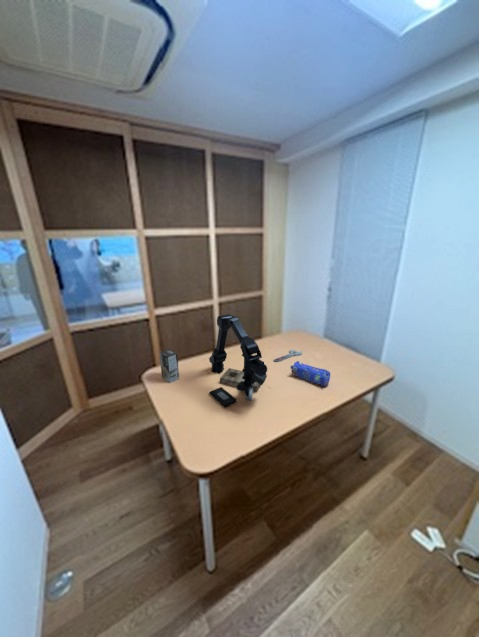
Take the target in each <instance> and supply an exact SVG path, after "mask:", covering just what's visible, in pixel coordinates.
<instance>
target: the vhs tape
mask: <svg viewBox="0 0 479 637" xmlns="http://www.w3.org/2000/svg"><path fill="white" fill-rule="evenodd" d="M209 395H210V397H212V398H213V399H214V400H215V401H216V402H218V403H219V404H220V405H221V406H222V407H223V408H224V409H226V408H228V407H230V406H231V405H234V404H235V405H236V404H237V403H238V399H237V398H235V396H233V395H232V393H231V394H230V393H229V391H227V390H226V389H224V388H223V387H222V386H219V387H217V388H215V389H212V390H210V391H209Z"/></svg>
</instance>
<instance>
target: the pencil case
mask: <svg viewBox="0 0 479 637" xmlns="http://www.w3.org/2000/svg"><path fill="white" fill-rule="evenodd" d="M289 369H291V374H292V376H295V377H297V378H299V379H302V380H305V381H308V382H311V383H314V384H317V385H321V386H323V387H327V386H328V385H329V382H330V379H331V372H330V371H329V370H327V369H326V368H325V369H324V368H320V367H315V366H312V365H309V364H305V363H302V362H301V361H300V360H298V361H295V362H294V363H293V365H292V364H291V366H289Z"/></svg>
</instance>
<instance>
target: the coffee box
mask: <svg viewBox="0 0 479 637" xmlns="http://www.w3.org/2000/svg"><path fill="white" fill-rule="evenodd" d="M178 356H179V355H178V353H177V352H175V351H172V350H171V349H166V350H164V351H160V352H159V361H160V370H161V378H162V379H164V380H165V381H167V382H168V383H170V384H171V383H173V382H175V381H178V380H180V377H179V376H180V373H179V372H180V371H179V359H178Z"/></svg>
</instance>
